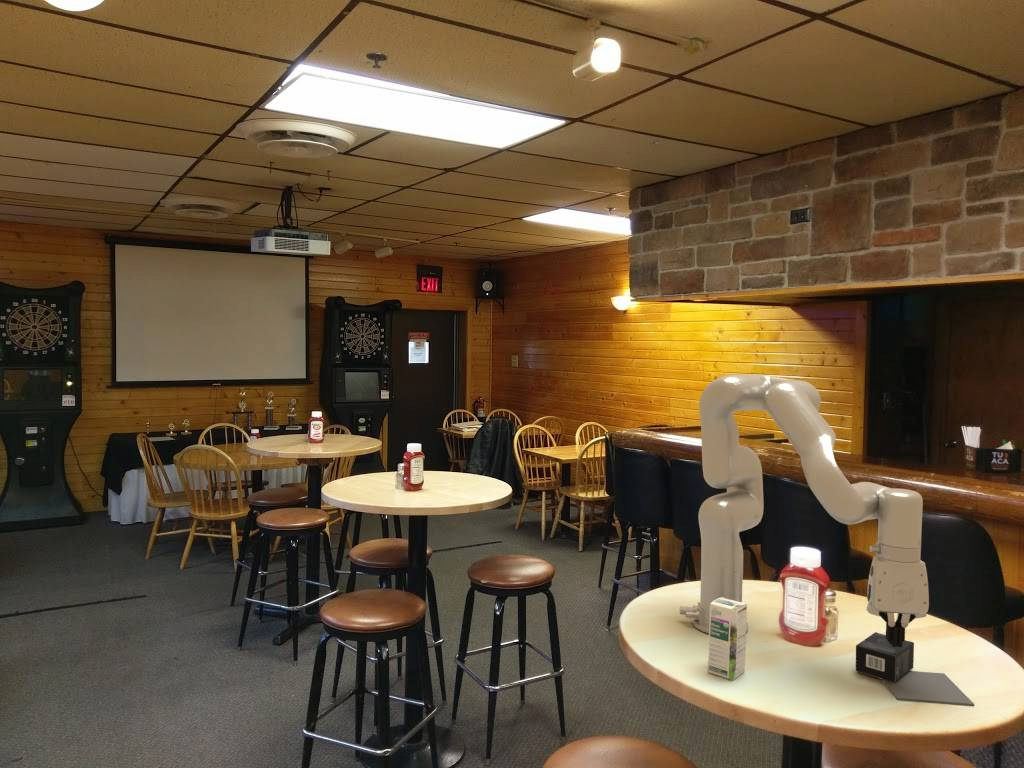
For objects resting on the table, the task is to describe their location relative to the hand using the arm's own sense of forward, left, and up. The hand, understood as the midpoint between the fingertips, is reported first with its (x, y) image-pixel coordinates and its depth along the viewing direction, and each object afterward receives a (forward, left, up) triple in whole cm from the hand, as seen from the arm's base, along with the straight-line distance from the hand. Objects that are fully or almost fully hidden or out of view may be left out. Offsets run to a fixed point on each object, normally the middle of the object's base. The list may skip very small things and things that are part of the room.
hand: (894, 644), depth 145 cm
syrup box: (-32, 0, -8) cm, 33 cm away
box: (-3, +2, -5) cm, 6 cm away
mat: (+5, 0, -8) cm, 10 cm away
